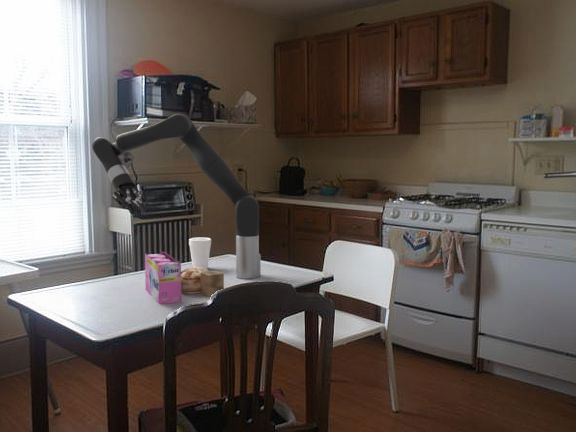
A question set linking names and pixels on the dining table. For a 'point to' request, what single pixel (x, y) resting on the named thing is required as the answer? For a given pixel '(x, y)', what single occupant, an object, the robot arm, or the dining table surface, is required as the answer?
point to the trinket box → (191, 280)
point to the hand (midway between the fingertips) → (139, 212)
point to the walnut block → (211, 282)
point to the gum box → (163, 277)
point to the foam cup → (200, 251)
